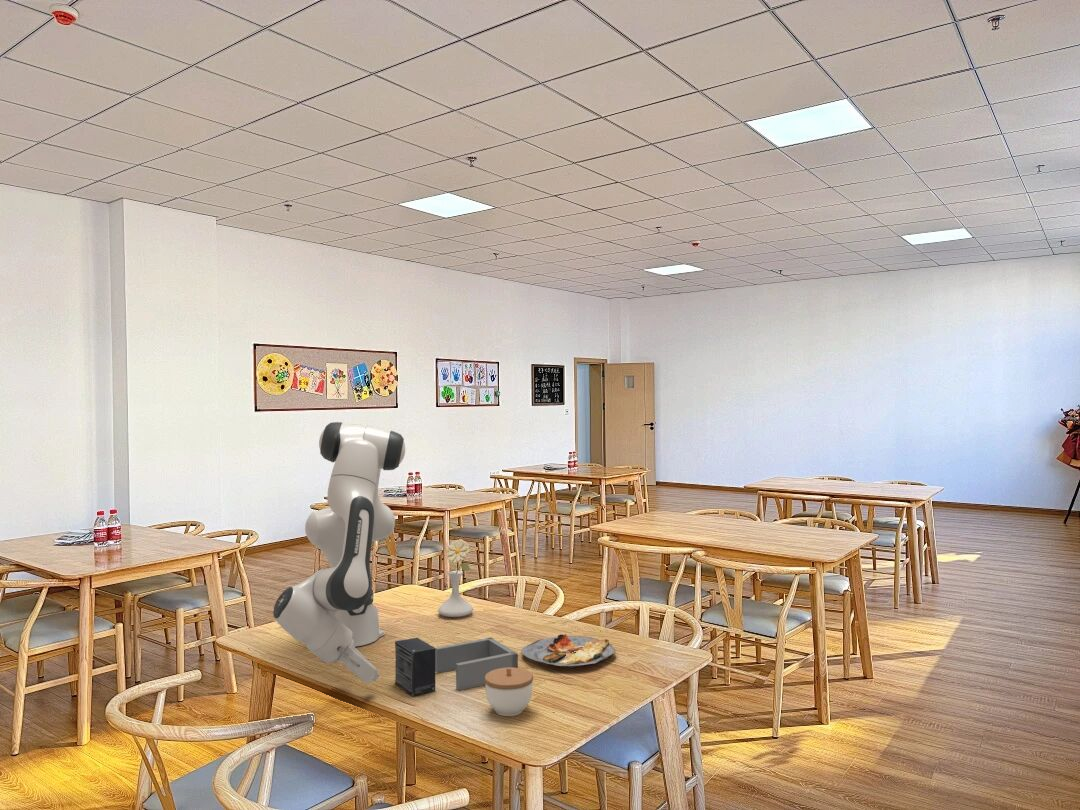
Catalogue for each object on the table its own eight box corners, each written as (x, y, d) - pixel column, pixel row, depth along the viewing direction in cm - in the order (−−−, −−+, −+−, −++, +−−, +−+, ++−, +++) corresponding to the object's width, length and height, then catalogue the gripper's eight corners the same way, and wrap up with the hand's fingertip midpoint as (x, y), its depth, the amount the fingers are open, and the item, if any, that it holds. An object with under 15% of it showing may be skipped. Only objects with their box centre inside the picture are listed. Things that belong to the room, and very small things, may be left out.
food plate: (559, 637, 217) (558, 625, 217) (629, 652, 203) (629, 639, 203) (506, 662, 196) (506, 649, 196) (581, 680, 183) (580, 666, 183)
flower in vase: (431, 615, 241) (430, 538, 241) (459, 608, 248) (458, 533, 248) (455, 623, 231) (454, 543, 231) (483, 616, 239) (482, 538, 239)
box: (435, 671, 190) (434, 647, 190) (491, 659, 198) (491, 637, 198) (458, 690, 177) (458, 665, 177) (518, 677, 185) (517, 653, 185)
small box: (437, 691, 177) (437, 647, 177) (412, 697, 173) (411, 652, 173) (418, 678, 185) (418, 636, 185) (394, 683, 182) (393, 640, 182)
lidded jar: (481, 703, 169) (481, 662, 169) (527, 698, 171) (527, 658, 171) (489, 723, 158) (488, 679, 158) (538, 717, 161) (537, 674, 161)
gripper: (355, 643, 162) (399, 679, 166) (331, 620, 179) (372, 653, 184) (335, 667, 159) (380, 703, 164) (313, 641, 177) (354, 674, 182)
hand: (375, 676), depth 174 cm, fingers closed
